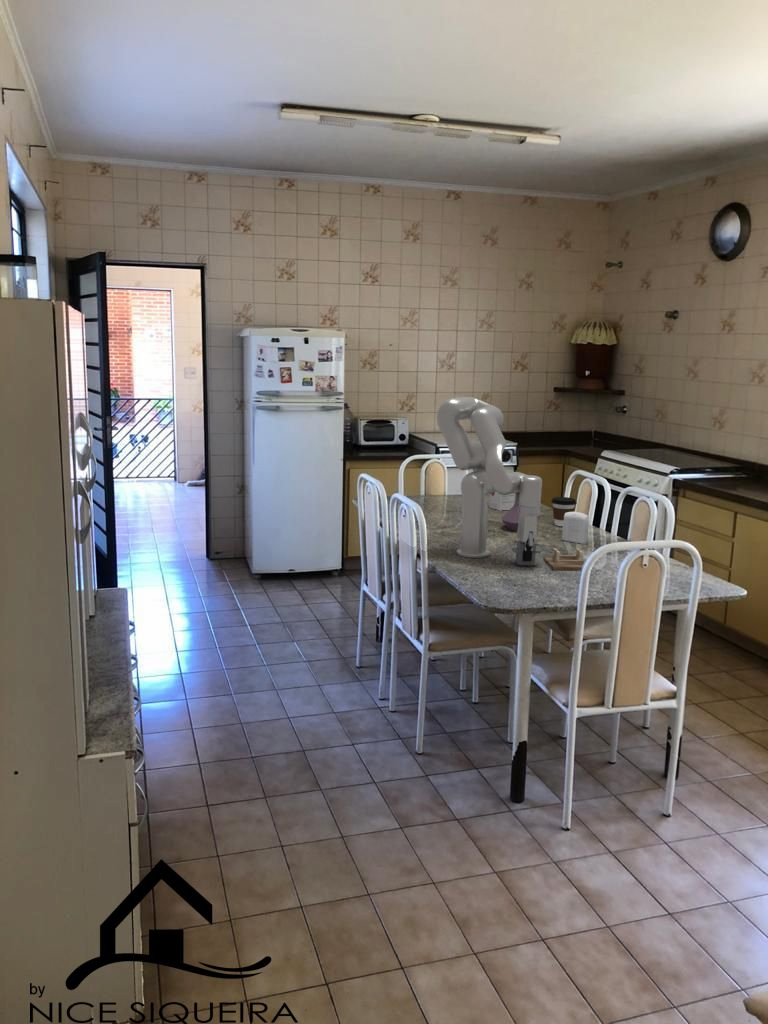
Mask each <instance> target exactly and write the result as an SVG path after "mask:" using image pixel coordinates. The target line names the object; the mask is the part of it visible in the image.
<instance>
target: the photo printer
mask: <svg viewBox="0 0 768 1024" xmlns="http://www.w3.org/2000/svg"><path fill="white" fill-rule="evenodd" d="M589 522H590V520H589V515H587V514H585V513H582V512H578V511H574V512H567V513H565V515H564V523H563V527H562V536H561V538H562V539H561V540H562V541H563V540H564V542H569V543H577V544H580V545H581V544H582V545H586V544H587V542H588V534H589Z"/></svg>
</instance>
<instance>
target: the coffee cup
mask: <svg viewBox="0 0 768 1024" xmlns="http://www.w3.org/2000/svg"><path fill="white" fill-rule="evenodd" d="M550 503H552V514H553V521H554V526H556V525H558V526H563V523H564V515H565V513H567V512H575V505H576V504H577V501H576V499H575V498H573V497H566V496H556V497H555V496H554V497H553V498H552V499H551V501H550ZM558 526H557V527H558Z"/></svg>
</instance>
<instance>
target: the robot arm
mask: <svg viewBox="0 0 768 1024" xmlns="http://www.w3.org/2000/svg"><path fill="white" fill-rule="evenodd" d="M436 413H437V414H436V422H437V426H438V429H439V430H440V433H441V434H442V435H441V436H443V439H444V440H445V443H446V446H447V449H448V450H449V453H450V455H451V458H452V460H453V463H454V464H455V466H456V467H457V469H459V470H461V471H471V470H472V471H471V472H470V473H467V474H465V476H464V477H463V478H462V479H461V483H460V491H461V500H462V504H461V505H462V509H461V512H462V513H461V514H462V515H461V518H462V519H461V535H460V537H461V538H460V540H461V541H460V547H459V548H457V549H456V554H457V555H458V556H460V557H463V558H464V557H465V558H468V559H472V558H473V559H480V558H481V559H482V558H487V557H489V556H490V555H491V551H490V550H489V549H487V539H488V538H487V535H488V514H489V513H488V511H489V510H488V509H489V505H488V501H487V497H486V496H487V495H490V494H491V493H494V492H497V493H499V494H500V495H509V494H513V493H515V494H517V493H518V492H520V498H519V511H518V514H520V515H519V522H518V530H517V531H516V537H517V538H518V541H521V542H522V543H524V550H523V561H532V549H533V543H534V542H535V543H536V540H537V529H538V528H537V526H538V525H537V524H538V516H540V511H541V500H542V488H543V478H541V477H540V476H538V475H530V474H525V473H523V472H520V471H513V472H507V470H506V469H505V466H504V464H503V453H504V451H505V449H506V447H507V441H506V439H505V436H504V435H503V432H502V431H501V427H502V425H503V423H504V414H503V412H502V411H501V409H500V408H499V407H497V406H495V405H492V404H490V403H487V402H485V401H483V400H481V399H478V398H475V397H472V396H466V397H465V396H462V397H461V396H460V397H452V398H448V399H446V400H444V401H443V402H442V403H441V404H440V406H439V408H438V409H437V412H436ZM465 420H470V423H471V425H472V428H473V430H474V432H475V434H476V437H477V438H478V439H477V440H479V442H480V443H478V442H477V443H475V442H474V443H473V442H471V440H470V437H469V435H468V433H467V431H466V429H465V427H463V425H461V423H460V421H465ZM528 540H529V542H526V541H528ZM527 544H528V545H527ZM526 546H527V547H526Z"/></svg>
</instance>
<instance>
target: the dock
mask: <svg viewBox="0 0 768 1024" xmlns="http://www.w3.org/2000/svg"><path fill="white" fill-rule="evenodd" d="M552 550H553V551H552V556H543V562H545V564H546V565H547V566H548V567H549V566H550V567H551V568H552V569H553V570H552V569H551V568H550V567H549V568H550V569H551V570H552V571H577V570H580V571H581V569H582V566H583V563H584V561H585V560H584V558H583V557H584V552H583V550H581V549H580V548H579V547H577V548H575V554H574V555H573V554H571V555H570V554H565V555H563V554H561V552H560V551H559V549H557V548H555V547H554V548H553V549H552Z"/></svg>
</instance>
